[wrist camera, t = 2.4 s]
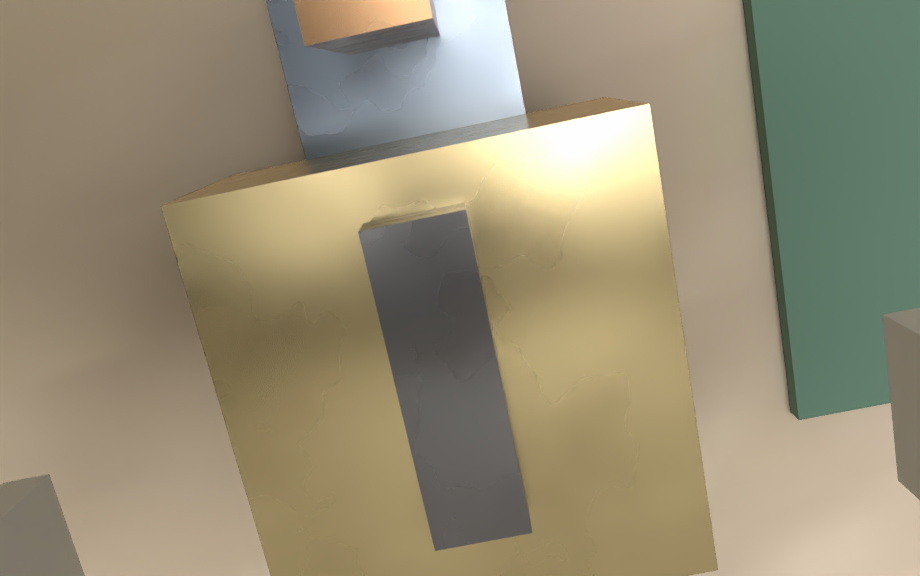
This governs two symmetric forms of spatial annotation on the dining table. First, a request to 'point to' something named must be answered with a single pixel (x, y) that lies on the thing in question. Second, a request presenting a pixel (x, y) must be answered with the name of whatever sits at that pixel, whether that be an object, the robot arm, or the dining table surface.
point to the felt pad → (839, 186)
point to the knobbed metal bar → (393, 68)
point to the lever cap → (456, 352)
